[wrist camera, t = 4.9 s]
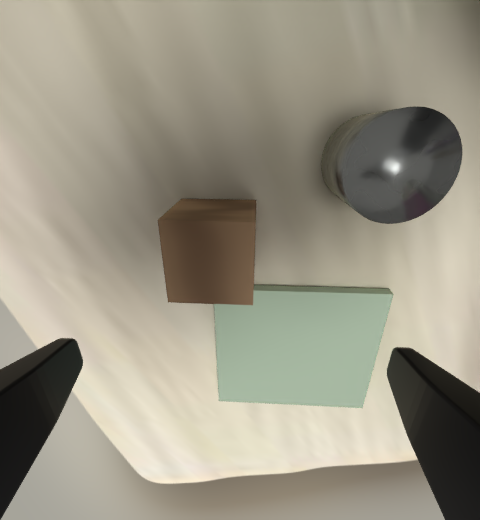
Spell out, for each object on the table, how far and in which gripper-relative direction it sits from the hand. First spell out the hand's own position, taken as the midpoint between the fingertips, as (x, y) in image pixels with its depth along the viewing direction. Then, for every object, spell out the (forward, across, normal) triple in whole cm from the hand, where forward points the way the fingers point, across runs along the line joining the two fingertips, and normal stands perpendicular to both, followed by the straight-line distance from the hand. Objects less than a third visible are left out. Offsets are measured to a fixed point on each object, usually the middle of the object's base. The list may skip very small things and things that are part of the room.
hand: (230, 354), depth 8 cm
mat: (+12, -4, +11) cm, 17 cm away
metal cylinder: (+12, -7, -4) cm, 15 cm away
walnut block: (+12, +2, +1) cm, 13 cm away
